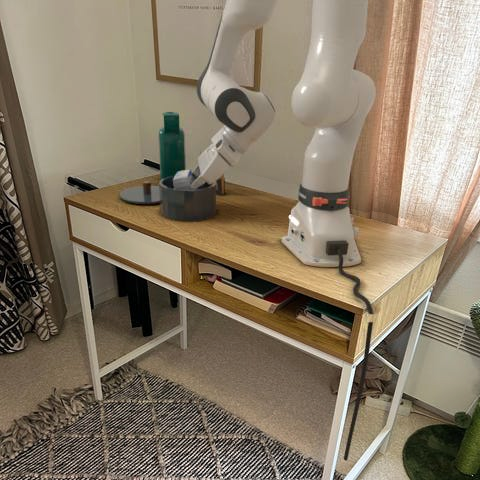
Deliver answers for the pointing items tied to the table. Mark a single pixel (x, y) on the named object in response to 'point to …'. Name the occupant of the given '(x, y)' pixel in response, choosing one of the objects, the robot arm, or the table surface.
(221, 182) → the ammunition clip
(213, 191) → the canister
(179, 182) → the medicine box
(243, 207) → the table surface
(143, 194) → the lid
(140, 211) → the table surface
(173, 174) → the green bottle
